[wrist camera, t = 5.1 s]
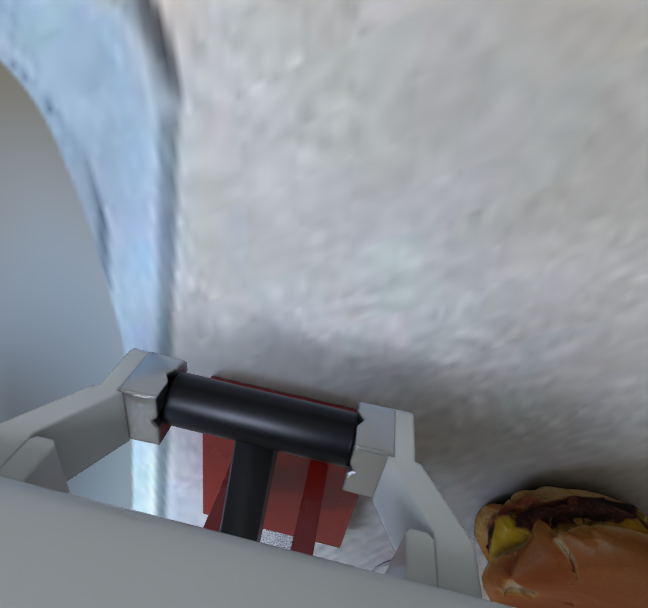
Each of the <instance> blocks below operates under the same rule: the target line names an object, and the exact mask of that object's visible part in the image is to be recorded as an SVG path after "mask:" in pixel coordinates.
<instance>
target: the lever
mask: <svg viewBox="0 0 648 608" xmlns="http://www.w3.org/2000/svg"><path fill="white" fill-rule="evenodd" d="M163 420H164V422H165V423H166V424H167V425H171V426H175V427H179V428H183V429H187V430H191V431H196V432H200V433H204V434H208V435H212V436H216V437H220V438H225V439H229V440H233V441H235V442H234V448H233V454H232V460H231V466H230V472H229V478H228V484H227V490H226V496H225V501H224V507H223V513H222V519H221V525H220V531H219V532H222V533H225V534H229V535H233V536H237V537H241V538H245V539H249V540H253V541H257V542H260V540H261V535H262V530H263V525H264V520H265V515H266V510H267V504H268V499H269V494H270V489H271V484H272V479H273V474H274V469H275V464H276V459H277V454H278V451H279V452H283V453H287V454H291V455H295V456H299V457H303V458H308V459H312V460H316V461H320V462H324V463H328V464H333V465H337V466H341V467H347V465H348V463H349V461H350V458H351V451H352V446H353V442H354V437H355V432H356V429H357V413H355V412H352V411H348V410H343V409H339V408H335V407H331V406H326V405H322V404H318V403H313V402H309V401H305V400H301V399H296V398H292V397H288V396H284V395H279V394H275V393H271V392H266V391H262V390H258V389H254V388H249V387H245V386H241V385H236V384H232V383H228V382H224V381H219V380H215V379H211V378H207V377H202V376H198V375H194V374H189V373H185V372H184V373H180V374H178V375H177V376H176V377H175V379H174V380H173V382H172V384H171V385H170V387H169V390H168V393H167V396H166V399H165V403H164V407H163Z"/></svg>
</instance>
